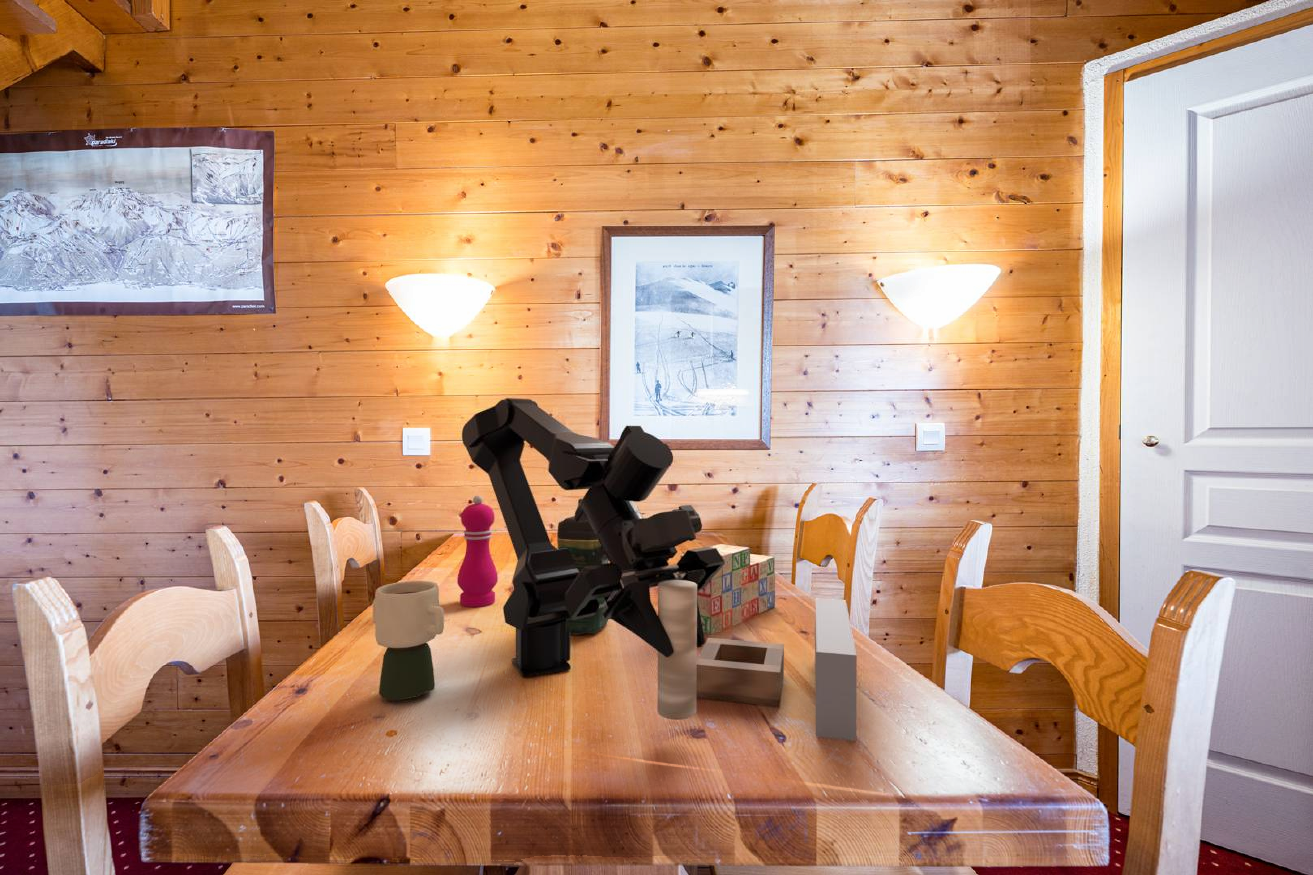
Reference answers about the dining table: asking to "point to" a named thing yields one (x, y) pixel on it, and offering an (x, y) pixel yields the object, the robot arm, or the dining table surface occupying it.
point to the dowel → (678, 649)
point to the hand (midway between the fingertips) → (686, 650)
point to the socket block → (741, 672)
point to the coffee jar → (584, 554)
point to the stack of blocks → (736, 589)
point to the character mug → (407, 636)
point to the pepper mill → (477, 556)
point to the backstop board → (834, 671)
